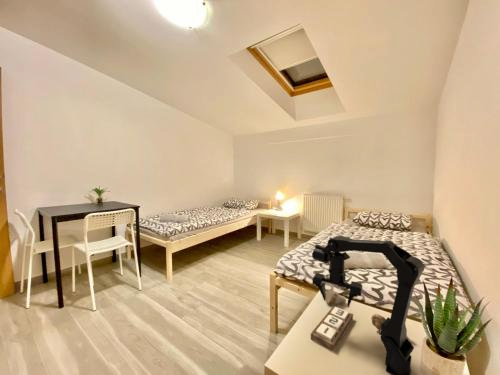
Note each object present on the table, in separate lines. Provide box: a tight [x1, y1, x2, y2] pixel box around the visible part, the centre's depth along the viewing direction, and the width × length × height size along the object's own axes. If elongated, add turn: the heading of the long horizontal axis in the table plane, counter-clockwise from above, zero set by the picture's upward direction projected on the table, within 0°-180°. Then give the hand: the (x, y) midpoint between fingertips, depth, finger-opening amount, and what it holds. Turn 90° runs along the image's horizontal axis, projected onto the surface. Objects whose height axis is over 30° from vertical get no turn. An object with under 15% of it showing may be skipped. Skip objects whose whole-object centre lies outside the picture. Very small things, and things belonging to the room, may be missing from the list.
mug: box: [325, 289, 347, 306], centre depth 111 cm, size 8×10×10 cm
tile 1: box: [316, 323, 337, 342], centre depth 87 cm, size 6×6×2 cm
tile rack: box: [310, 305, 354, 352], centre depth 93 cm, size 9×24×2 cm, turn 139°
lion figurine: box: [370, 313, 387, 334], centre depth 89 cm, size 15×5×9 cm, turn 90°
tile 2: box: [324, 315, 343, 331], centre depth 93 cm, size 6×6×2 cm
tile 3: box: [330, 306, 350, 322], centre depth 98 cm, size 6×6×2 cm
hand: (336, 303), depth 90 cm, fingers open, 9 cm apart
